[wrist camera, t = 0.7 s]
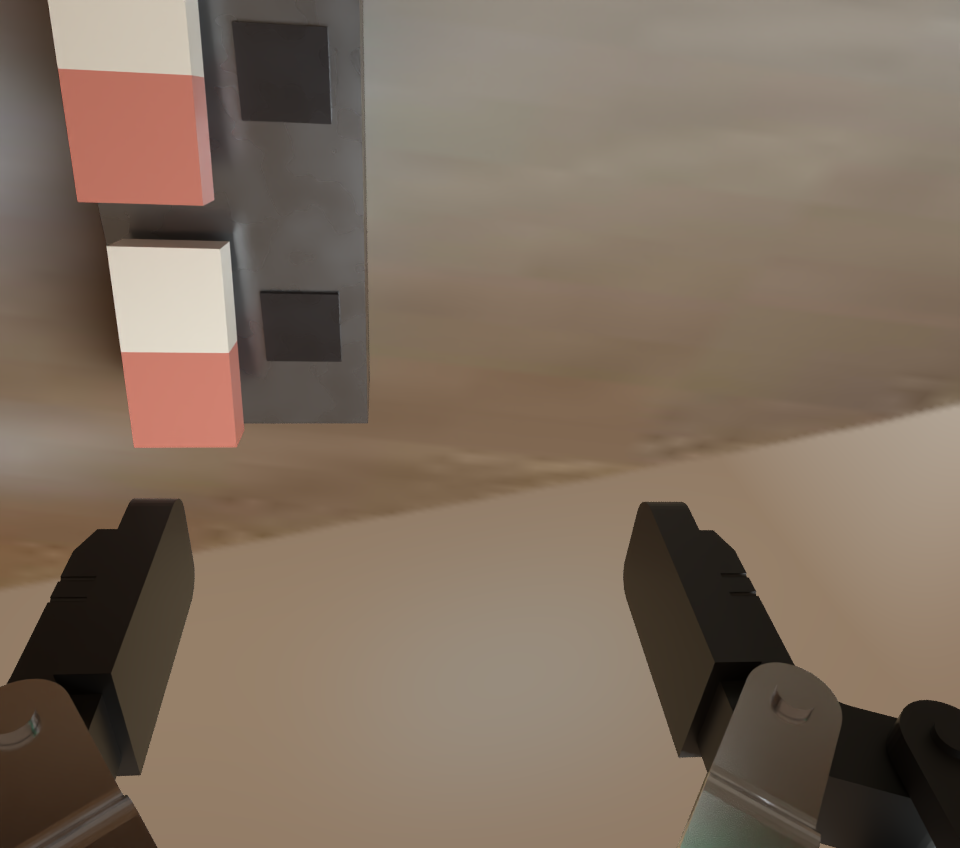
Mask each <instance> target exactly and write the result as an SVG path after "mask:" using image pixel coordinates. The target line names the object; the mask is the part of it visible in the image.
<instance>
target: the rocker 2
mask: <svg viewBox="0 0 960 848" xmlns="http://www.w3.org/2000/svg"><path fill="white" fill-rule="evenodd" d="M107 254H108V261H109V268H110V275H111V283H112V290H113V297H114V304H115V312H116V319H117V326H118V333H119V341H120V348H121V355H122V362H123V370H124V377H125V384H126V391H127V399H128V406H129V413H130V421H131V428H132V435H133V442H134V448H171V447H237V445H238V443H239V441H240V439H241V436H242V434H243V432H244V420H243V408H242V395H241V382H240V369H239V357H238V344H237V331H236V318H235V305H234V293H233V280H232V267H231V254H230V242H229V241H196V240H156V239H121V240H118V241H116V242H114V243H112V244H110V245H108V246H107Z"/></svg>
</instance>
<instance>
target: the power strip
mask: <svg viewBox="0 0 960 848" xmlns="http://www.w3.org/2000/svg"><path fill="white" fill-rule="evenodd" d="M198 10H199V22H200V34H201V46H202V58H203V70H204V82H205V94H206V105H207V117H208V129H209V141H210V153H211V165H212V177H213V189H214V200H213V201H211V202H210V203H208V204H206V205H204V206H194V205H161V204H129V203H98V207H99V212H100V217H101V221H102V226H103V231H104V235H105V240H106V245H107V246H108V245H110V244H112V243H114V242H116V241H118V240H121V239H156V240H196V241H229V242H230V254H231V267H232V280H233V293H234V305H235V318H236V331H237V344H238V357H239V369H240V382H241V395H242V408H243V420H244V423H368V409H369V383H370V372H369V318H368V263H367V208H366V153H365V99H364V44H363V0H198Z"/></svg>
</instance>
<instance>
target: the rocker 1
mask: <svg viewBox="0 0 960 848" xmlns="http://www.w3.org/2000/svg"><path fill="white" fill-rule="evenodd" d="M48 5H49V12H50V19H51V26H52V32H53V39H54V46H55V53H56V59H57V66H58V73H59V79H60V86H61V93H62V100H63V106H64V113H65V120H66V127H67V133H68V140H69V147H70V154H71V160H72V167H73V174H74V181H75V187H76V194H77V201H78V202H96V203H129V204H161V205H194V206H204V205H206V204H208V203H210V202H211V201H213V200H214V189H213V177H212V165H211V153H210V141H209V129H208V117H207V105H206V94H205V82H204V70H203V58H202V46H201V34H200V22H199V10H198V0H48Z"/></svg>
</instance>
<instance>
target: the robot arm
mask: <svg viewBox="0 0 960 848" xmlns="http://www.w3.org/2000/svg"><path fill="white" fill-rule="evenodd" d="M623 580H624V590H625V595H626V599H627V602H628V605H629V608H630V611H631V614H632V617H633V620H634V623H635V626H636V629H637V632H638V636H639V638H640V642H641V645H642V647H643V651H644V654H645V656H646V660H647V663H648V666H649V669H650V672H651V675H652V678H653V681H654V684H655V687H656V690H657V693H658V696H659V699H660V702H661V705H662V708H663V711H664V714H665V717H666V720H667V724H668V727H669V729H670V733H671V735H672V739H673V742H674V745H675V748H676V751H677V753H678V757H702V759H703V761H704V764H705V767H706V770H707V775H706V777H705V779H704V782H703V784H702V787H701V789H700V792H699V794H698V797H697V799H696V801H695V804H694V806H693V809H692V811H691V814H690V816H689V819H688V821H687V824H686V826H685V829H684V831H683V834H682V836H681V839H680V841H679V843H678V846H677V848H819V847H820V843H822V844H825V845H829V846H832V847H836V848H960V709H957V708H955V707H953V706H951V705H948V704H945V703H942V702H937V701H931V700H919V701H916V702H912V703H910V704H908V705H907V706H906V707H905V708H904V709H903V711H902V712H901V714H900V716H899V717H898V718H894V717H891V716H887V715H883V714H879V713H875V712H871V711H867V710H863V709H859V708H856V707H852V706H849V705H845V704H843V703H840V702H838V700H837V698H836V697H835V695H834V694H833V693H832V691H831V690H830V689H829V688H828V686H827V685H826V684H825V683H824V682H822V681H821V680H820V679H819V678H817V677H816V676H815V675H813V674H812V673H810V672H808V671H806V670H804V669H802V668H800V667H797V666H795V665H794V663H793V661H792V660H791V658H790V656H789V654H788V652H787V650H786V648H785V646H784V644H783V642H782V640H781V639H780V637H779V635H778V633H777V631H776V629H775V627H774V625H773V623H772V621H771V619H770V617H769V615H768V614H767V612H766V610H765V608H764V606H763V604H762V602H761V600H760V598H759V596H756V590H755V589H754V587H753V585H752V583H751V581H750V579H749V578H747V577H746V571H745V569H744V568H743V565H742V564H741V562H740V560H739V558H738V556H737V554H736V552H735V550H734V549H733V548H732V547H731V546H729V545H728V544H727V543H726V542H725V541H724V540H723V539H722V538H721V537H720V536H719V535H718V534H717V533H715V532H714V531H713V530H699V528H698V526H697V525H696V522H695V520H694V518H693V516H692V514H691V512H690V510H689V508H688V506H687V505H686V504H685V503H683V502H642V503H641V504H640V506H639V508H638V511H637V515H636V519H635V523H634V527H633V532H632V535H631V539H630V543H629V547H628V551H627V555H626V559H625V564H624V573H623ZM193 589H194V562H193V556H192V551H191V545H190V539H189V533H188V528H187V522H186V516H185V511H184V506H183V503H182V501H181V500H180V499H132V500H131V501H130V503H129V505H128V507H127V509H126V511H125V514H124V516H123V518H122V520H121V523H120V525H119V527H118V529H97V530H96V531H95V532H94V533H93V534H92V535H91V536H90V537H88V538H87V539H86V540H85V541H84V542H83V543H82V544H81V545H80V546H78V547H77V548H76V549H75V550H74V551H73V553H72V555H71V557H70V559H69V561H68V563H67V565H66V567H65V569H64V571H63V573H62V575H61V581H60V582H58V583H57V585H56V587H55V589H54V591H53V593H52V595H51V597H50V598H51V600H50V602H49V603H47V605H46V607H45V609H44V611H43V613H42V615H41V617H40V619H39V621H38V623H37V625H36V627H35V629H34V631H33V633H32V635H31V637H30V639H29V642H28V643H27V645H26V647H25V649H24V651H23V653H22V655H21V657H20V659H19V661H18V663H17V665H16V667H15V669H14V671H13V673H12V676H11V677H10V679H9V681H8V683H7V684H6V685H4V686H1V687H0V848H157V846H156V844H155V842H154V841H153V839H152V837H151V835H150V833H149V831H148V829H147V828H146V826H145V824H144V822H143V820H142V818H141V816H140V815H139V813H138V811H137V809H136V808H135V806H134V804H133V802H132V801H131V799H130V798H129V797H128V796H127V795H125V796H124V795H123V794H122V792H121V790H120V789H119V787H118V785H117V783H116V781H115V779H116V776H130V775H131V776H132V775H141V772H142V768H143V765H144V761H145V758H146V755H147V751H148V748H149V744H150V741H151V738H152V734H153V731H154V727H155V724H156V721H157V717H158V714H159V710H160V707H161V703H162V700H163V696H164V693H165V689H166V686H167V682H168V679H169V676H170V673H171V669H172V666H173V662H174V659H175V656H176V652H177V649H178V645H179V642H180V638H181V635H182V632H183V628H184V625H185V621H186V618H187V615H188V611H189V608H190V604H191V601H192V596H193Z"/></svg>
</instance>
